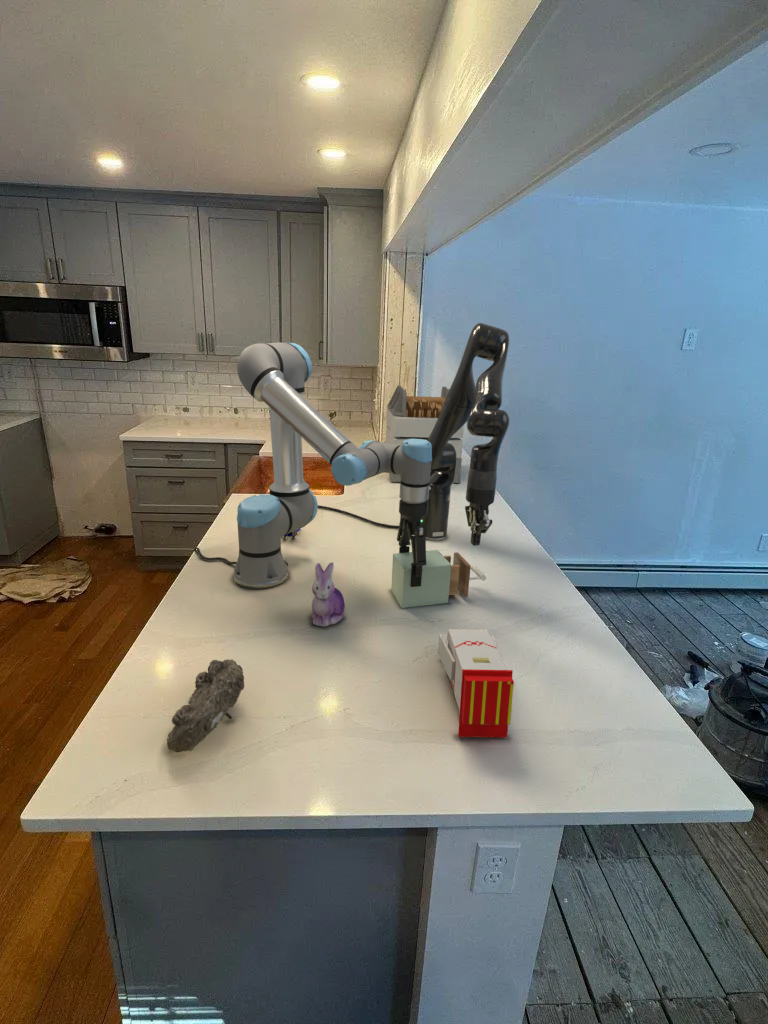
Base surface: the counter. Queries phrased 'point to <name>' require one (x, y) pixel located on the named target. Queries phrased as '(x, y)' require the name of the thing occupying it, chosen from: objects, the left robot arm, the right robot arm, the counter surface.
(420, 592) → the sage green cube
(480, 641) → the toy
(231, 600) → the counter surface
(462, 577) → the drawer
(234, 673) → the fossil
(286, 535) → the figurine character
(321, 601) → the figurine
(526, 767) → the counter surface
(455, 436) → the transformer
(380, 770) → the counter surface
